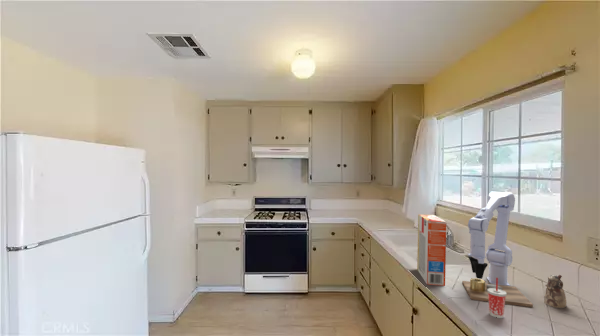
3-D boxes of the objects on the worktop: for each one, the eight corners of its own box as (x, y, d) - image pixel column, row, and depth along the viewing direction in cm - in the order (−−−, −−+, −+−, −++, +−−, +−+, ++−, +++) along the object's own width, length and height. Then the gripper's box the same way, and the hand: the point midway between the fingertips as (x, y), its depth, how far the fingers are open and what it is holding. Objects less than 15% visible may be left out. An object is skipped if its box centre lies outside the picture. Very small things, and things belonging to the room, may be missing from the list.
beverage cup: (499, 320, 113) (499, 281, 113) (483, 313, 119) (483, 276, 119) (509, 317, 116) (510, 279, 116) (493, 310, 121) (494, 274, 122)
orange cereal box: (445, 285, 147) (446, 221, 147) (427, 284, 148) (428, 221, 148) (432, 270, 169) (433, 214, 170) (417, 269, 171) (418, 214, 171)
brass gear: (468, 286, 143) (469, 277, 144) (483, 287, 142) (483, 279, 142) (471, 290, 138) (471, 281, 138) (486, 292, 136) (487, 283, 136)
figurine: (539, 300, 132) (540, 271, 132) (556, 300, 132) (557, 272, 132) (552, 307, 125) (553, 277, 125) (570, 308, 125) (571, 278, 125)
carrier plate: (462, 283, 151) (462, 273, 151) (515, 289, 144) (515, 279, 144) (471, 299, 132) (471, 288, 132) (532, 307, 125) (533, 295, 125)
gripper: (464, 240, 148) (464, 269, 148) (471, 247, 134) (470, 279, 134) (481, 242, 146) (481, 271, 146) (489, 249, 132) (489, 281, 132)
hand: (477, 275), depth 140 cm, fingers open, 7 cm apart
